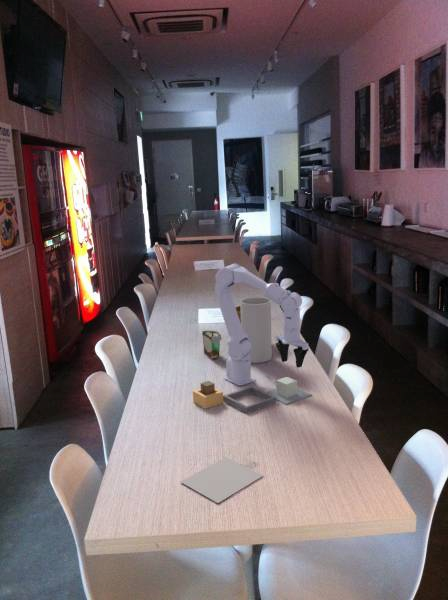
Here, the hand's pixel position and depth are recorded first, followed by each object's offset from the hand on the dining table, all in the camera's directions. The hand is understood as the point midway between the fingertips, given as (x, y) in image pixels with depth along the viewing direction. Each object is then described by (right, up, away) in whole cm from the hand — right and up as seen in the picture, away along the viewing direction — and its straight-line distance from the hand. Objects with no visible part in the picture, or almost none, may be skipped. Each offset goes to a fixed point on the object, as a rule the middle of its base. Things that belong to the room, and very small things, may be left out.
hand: (291, 364), depth 201 cm
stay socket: (-30, -12, -7) cm, 33 cm away
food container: (-28, -1, +40) cm, 49 cm away
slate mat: (-2, -10, -3) cm, 11 cm away
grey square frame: (-16, -12, -8) cm, 21 cm away
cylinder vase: (-11, -2, +34) cm, 36 cm away
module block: (-2, -10, -3) cm, 11 cm away
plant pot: (-12, +3, +56) cm, 58 cm away
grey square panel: (-25, -23, -49) cm, 59 cm away
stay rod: (-30, -12, -7) cm, 33 cm away
